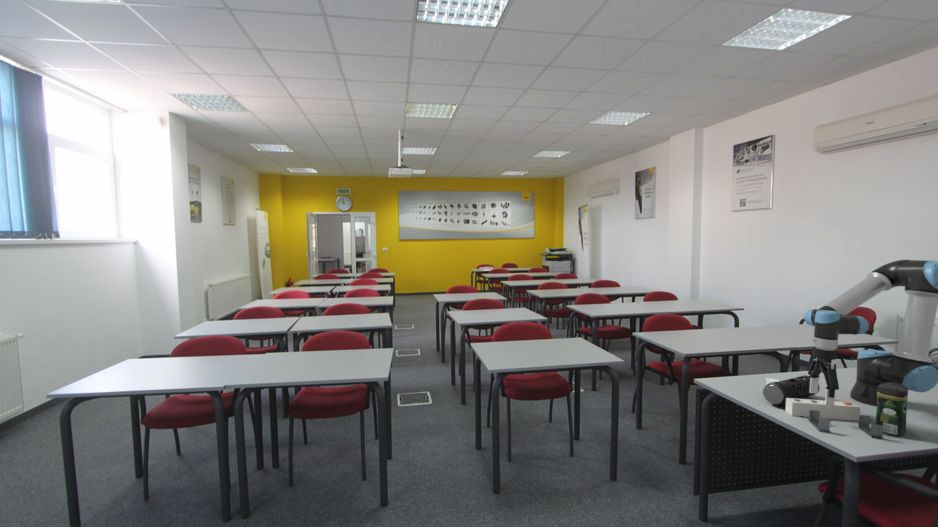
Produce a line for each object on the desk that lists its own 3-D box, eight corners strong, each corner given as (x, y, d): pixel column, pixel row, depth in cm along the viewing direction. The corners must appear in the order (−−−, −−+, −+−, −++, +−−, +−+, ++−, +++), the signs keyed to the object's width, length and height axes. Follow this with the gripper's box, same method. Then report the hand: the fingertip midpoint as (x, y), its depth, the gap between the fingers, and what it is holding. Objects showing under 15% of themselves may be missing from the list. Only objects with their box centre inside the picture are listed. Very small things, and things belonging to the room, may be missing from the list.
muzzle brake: (819, 400, 191) (820, 378, 190) (783, 411, 179) (785, 387, 178) (796, 393, 200) (797, 372, 199) (760, 403, 188) (761, 380, 187)
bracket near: (867, 428, 163) (868, 415, 162) (882, 439, 154) (883, 425, 154) (858, 427, 164) (859, 414, 163) (872, 437, 155) (872, 424, 155)
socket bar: (850, 416, 174) (851, 401, 174) (859, 421, 169) (860, 405, 169) (785, 411, 179) (786, 396, 179) (791, 416, 174) (792, 400, 174)
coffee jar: (879, 424, 166) (882, 378, 165) (907, 432, 159) (911, 384, 158) (871, 430, 161) (874, 383, 160) (901, 439, 154) (904, 389, 153)
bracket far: (817, 422, 168) (818, 410, 167) (829, 432, 159) (829, 419, 159) (808, 421, 169) (809, 409, 168) (819, 431, 160) (820, 418, 160)
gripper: (800, 340, 186) (797, 387, 187) (829, 355, 162) (825, 408, 163) (821, 342, 183) (817, 389, 184) (853, 357, 160) (848, 411, 161)
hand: (821, 398), depth 174 cm, fingers open, 13 cm apart
